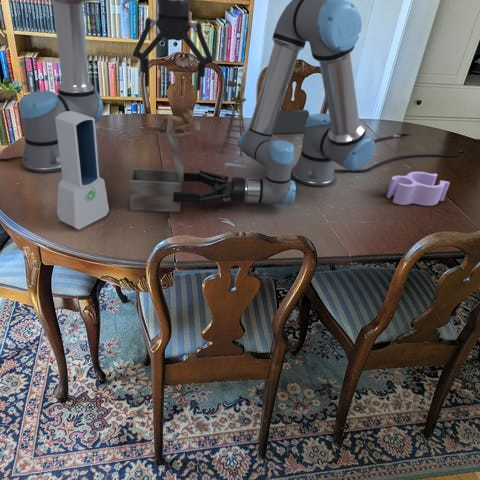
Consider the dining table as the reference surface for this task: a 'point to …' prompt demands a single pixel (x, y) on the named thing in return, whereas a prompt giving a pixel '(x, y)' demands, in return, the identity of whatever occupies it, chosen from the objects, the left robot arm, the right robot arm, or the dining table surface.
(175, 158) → the grey piece
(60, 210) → the electronic device
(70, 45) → the left robot arm
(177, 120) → the lion figurine
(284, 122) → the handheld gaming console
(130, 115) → the dining table surface
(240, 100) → the miniature windmill
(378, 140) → the paintbrush
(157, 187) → the chest
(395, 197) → the clip
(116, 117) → the dining table surface
